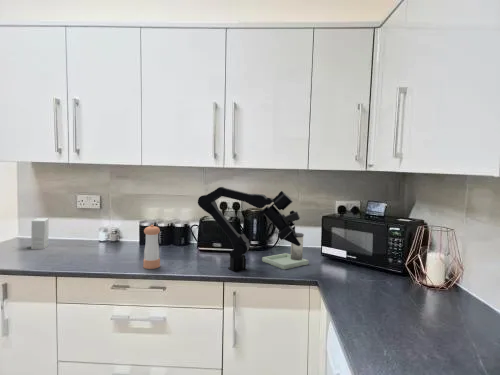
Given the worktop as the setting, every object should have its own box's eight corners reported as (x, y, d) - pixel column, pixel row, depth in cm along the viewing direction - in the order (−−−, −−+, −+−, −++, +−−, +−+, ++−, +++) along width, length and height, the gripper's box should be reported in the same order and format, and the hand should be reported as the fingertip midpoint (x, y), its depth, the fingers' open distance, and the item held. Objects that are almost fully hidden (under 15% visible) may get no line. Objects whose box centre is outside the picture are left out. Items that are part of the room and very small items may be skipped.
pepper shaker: (155, 269, 147) (155, 226, 146) (140, 268, 149) (140, 225, 148) (162, 265, 154) (163, 224, 153) (148, 263, 156) (148, 223, 155)
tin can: (296, 261, 141) (297, 235, 141) (287, 258, 145) (288, 233, 145) (305, 259, 145) (306, 234, 144) (296, 256, 149) (297, 232, 148)
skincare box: (35, 246, 184) (35, 218, 184) (49, 245, 186) (49, 217, 186) (30, 249, 176) (30, 220, 176) (45, 249, 178) (44, 220, 178)
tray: (283, 269, 152) (283, 265, 152) (262, 261, 165) (262, 257, 165) (308, 264, 161) (308, 260, 161) (286, 256, 174) (286, 253, 174)
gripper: (287, 207, 135) (313, 236, 134) (290, 203, 154) (314, 228, 152) (267, 225, 137) (293, 253, 136) (273, 219, 156) (296, 244, 154)
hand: (300, 244), depth 144 cm, fingers closed on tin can, 5 cm apart
